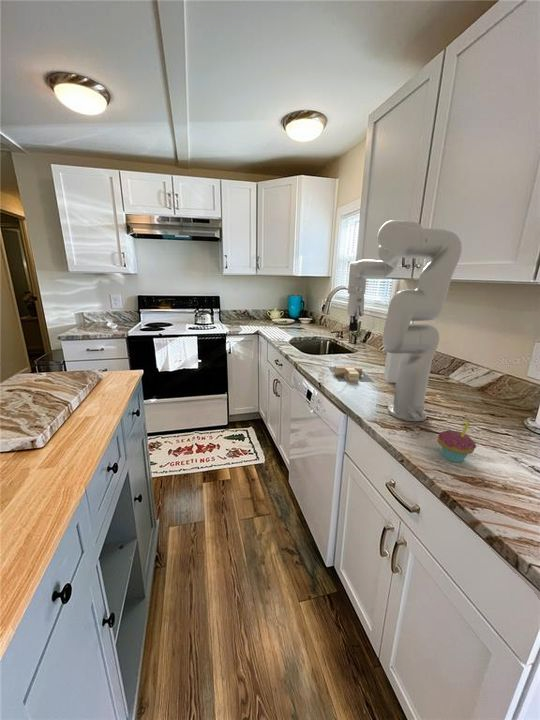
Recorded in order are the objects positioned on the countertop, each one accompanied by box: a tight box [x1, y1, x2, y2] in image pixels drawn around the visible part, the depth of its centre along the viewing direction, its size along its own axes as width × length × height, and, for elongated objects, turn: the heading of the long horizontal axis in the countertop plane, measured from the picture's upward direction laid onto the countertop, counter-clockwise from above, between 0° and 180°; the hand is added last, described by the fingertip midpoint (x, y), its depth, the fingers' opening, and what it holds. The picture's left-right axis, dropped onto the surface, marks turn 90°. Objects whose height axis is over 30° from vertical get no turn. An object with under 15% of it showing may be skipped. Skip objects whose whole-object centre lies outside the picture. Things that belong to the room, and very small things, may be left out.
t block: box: [333, 365, 363, 383], centre depth 136 cm, size 12×12×4 cm
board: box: [327, 366, 375, 383], centre depth 142 cm, size 22×16×1 cm
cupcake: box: [436, 419, 477, 463], centre depth 78 cm, size 9×8×12 cm
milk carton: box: [383, 351, 404, 384], centre depth 133 cm, size 7×7×19 cm
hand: (352, 330), depth 138 cm, fingers closed
